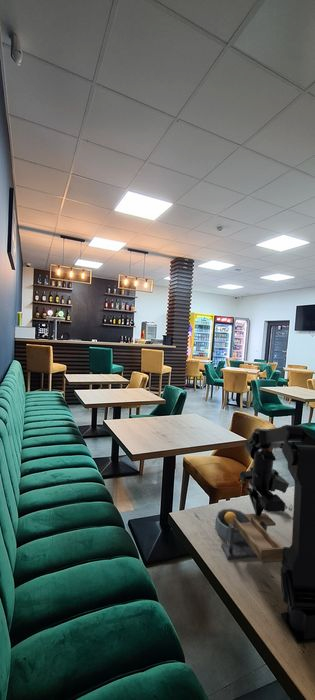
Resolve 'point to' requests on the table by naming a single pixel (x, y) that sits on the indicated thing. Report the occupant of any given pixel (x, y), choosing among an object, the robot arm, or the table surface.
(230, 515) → the ball
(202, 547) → the table surface
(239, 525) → the lever
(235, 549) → the lever stand
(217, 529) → the cup
